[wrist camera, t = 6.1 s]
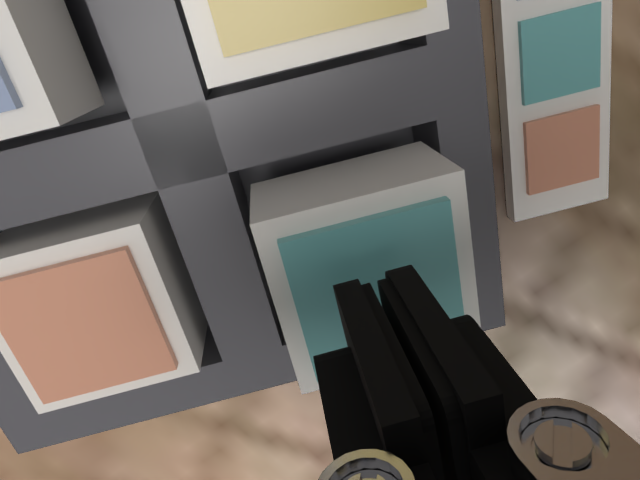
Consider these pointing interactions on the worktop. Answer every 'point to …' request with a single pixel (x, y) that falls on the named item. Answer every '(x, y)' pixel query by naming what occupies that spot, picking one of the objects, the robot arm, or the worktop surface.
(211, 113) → the keypad
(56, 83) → the key slate
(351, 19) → the key mustard
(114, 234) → the key terracotta
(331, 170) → the key teal
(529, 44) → the strip
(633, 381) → the worktop surface
